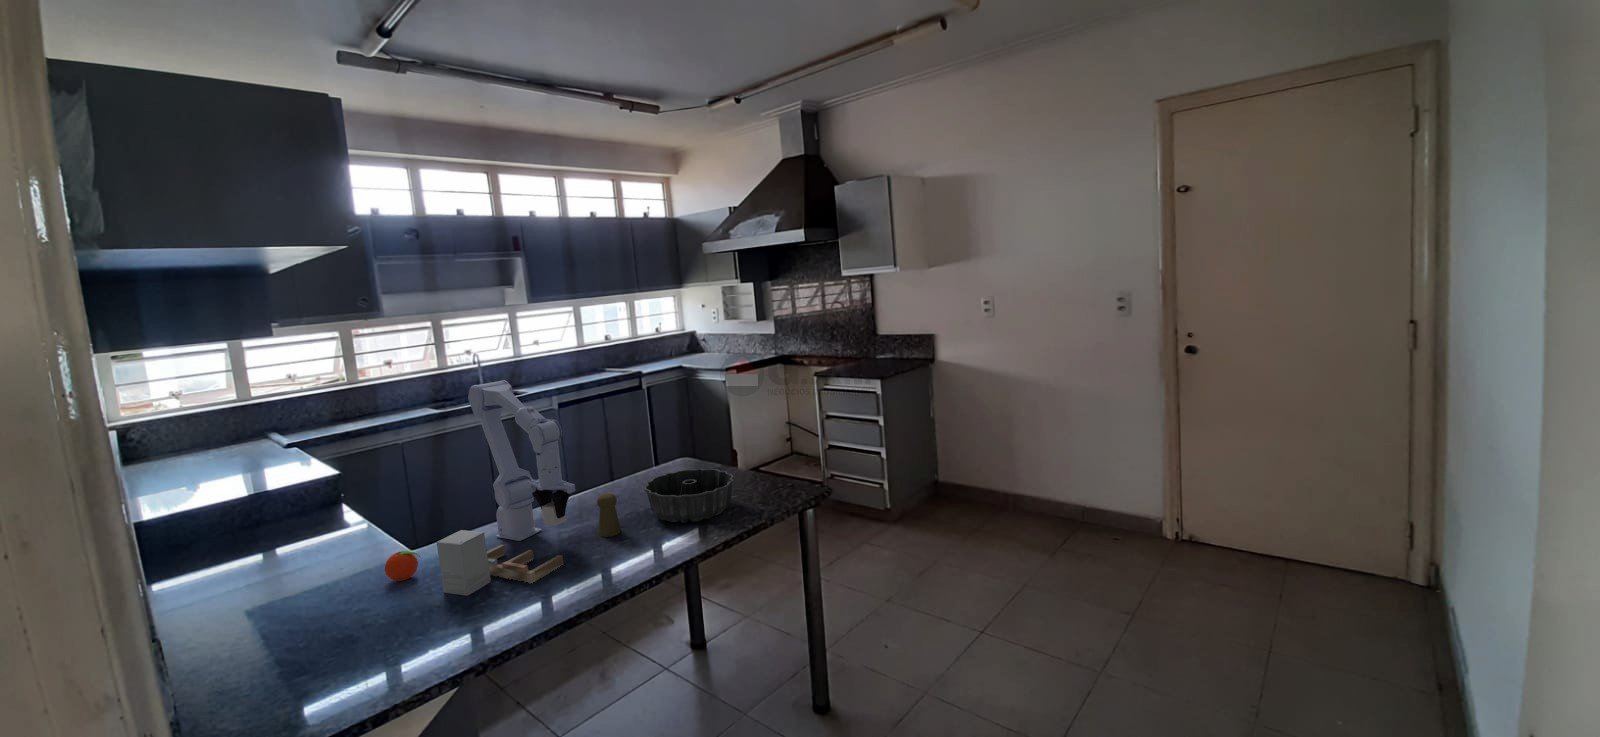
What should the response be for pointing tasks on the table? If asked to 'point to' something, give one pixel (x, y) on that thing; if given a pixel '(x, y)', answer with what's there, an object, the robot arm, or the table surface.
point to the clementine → (401, 565)
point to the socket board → (520, 565)
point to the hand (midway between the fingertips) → (554, 516)
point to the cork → (608, 516)
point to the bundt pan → (690, 494)
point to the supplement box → (463, 562)
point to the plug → (551, 515)
